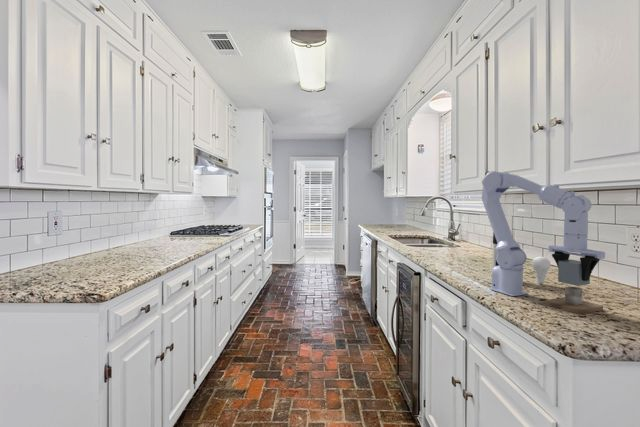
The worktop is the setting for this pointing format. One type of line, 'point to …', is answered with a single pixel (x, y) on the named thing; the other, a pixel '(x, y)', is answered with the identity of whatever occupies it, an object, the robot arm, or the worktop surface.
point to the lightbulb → (541, 268)
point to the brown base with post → (573, 302)
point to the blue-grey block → (571, 272)
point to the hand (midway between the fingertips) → (574, 278)
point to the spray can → (494, 252)
